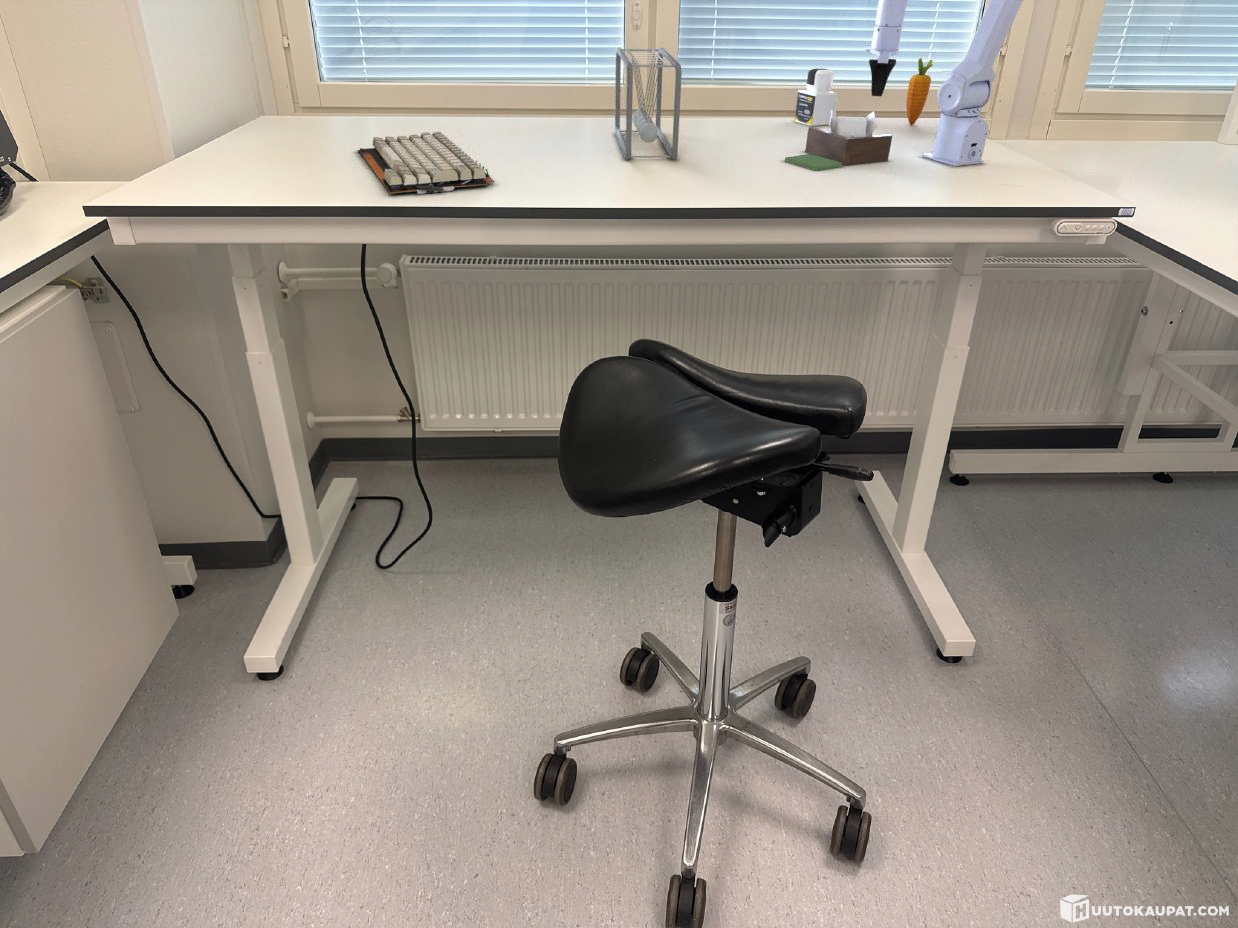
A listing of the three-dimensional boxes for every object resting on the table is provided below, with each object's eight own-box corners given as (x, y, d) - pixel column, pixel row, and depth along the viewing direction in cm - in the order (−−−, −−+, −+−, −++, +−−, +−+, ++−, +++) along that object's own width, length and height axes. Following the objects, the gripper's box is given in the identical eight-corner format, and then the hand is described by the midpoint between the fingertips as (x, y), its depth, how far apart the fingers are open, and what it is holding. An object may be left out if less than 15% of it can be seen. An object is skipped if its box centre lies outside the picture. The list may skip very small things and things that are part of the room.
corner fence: (887, 161, 168) (892, 135, 165) (843, 165, 164) (847, 139, 161) (847, 148, 178) (851, 123, 175) (804, 152, 174) (808, 127, 171)
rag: (841, 166, 163) (842, 162, 163) (815, 171, 160) (816, 166, 160) (809, 157, 170) (810, 153, 169) (784, 161, 166) (784, 157, 166)
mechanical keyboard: (356, 151, 168) (354, 134, 166) (448, 145, 174) (447, 128, 173) (391, 199, 139) (388, 178, 137) (499, 189, 146) (498, 170, 144)
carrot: (919, 124, 203) (933, 56, 194) (923, 128, 198) (938, 59, 190) (899, 123, 203) (912, 56, 195) (903, 127, 199) (916, 58, 191)
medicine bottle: (793, 121, 203) (800, 68, 196) (817, 119, 206) (824, 66, 199) (811, 126, 198) (818, 72, 191) (834, 124, 200) (842, 70, 194)
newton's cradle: (677, 162, 164) (682, 64, 155) (625, 162, 164) (627, 64, 154) (659, 132, 189) (663, 46, 180) (614, 132, 189) (615, 46, 179)
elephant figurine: (863, 149, 177) (870, 105, 172) (873, 162, 167) (881, 116, 162) (818, 148, 177) (824, 104, 173) (826, 160, 167) (832, 114, 162)
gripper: (869, 22, 179) (858, 90, 186) (868, 28, 167) (856, 100, 174) (903, 23, 177) (890, 91, 185) (904, 29, 165) (891, 102, 173)
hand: (876, 96), depth 179 cm, fingers closed
